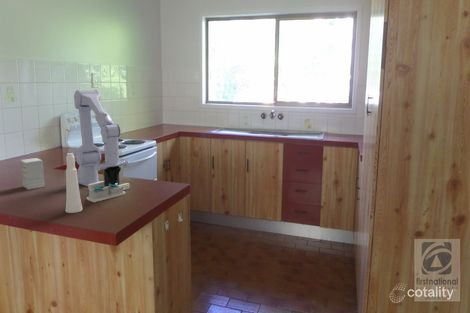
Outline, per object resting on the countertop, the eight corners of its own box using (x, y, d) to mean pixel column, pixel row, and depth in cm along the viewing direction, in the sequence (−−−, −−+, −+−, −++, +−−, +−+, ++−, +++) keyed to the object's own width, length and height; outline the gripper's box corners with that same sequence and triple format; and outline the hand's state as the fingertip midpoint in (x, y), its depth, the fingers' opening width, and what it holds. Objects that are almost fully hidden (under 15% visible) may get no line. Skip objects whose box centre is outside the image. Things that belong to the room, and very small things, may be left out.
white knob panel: (71, 193, 163) (70, 185, 162) (113, 183, 179) (113, 176, 178) (94, 202, 151) (93, 194, 151) (137, 191, 167) (136, 183, 167)
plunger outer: (92, 195, 156) (92, 187, 155) (100, 193, 158) (99, 185, 158) (97, 197, 153) (96, 188, 153) (105, 195, 156) (104, 187, 155)
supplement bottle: (121, 186, 174) (120, 161, 172) (117, 190, 168) (116, 164, 165) (106, 186, 174) (105, 161, 172) (102, 190, 167) (100, 164, 165)
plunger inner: (107, 191, 161) (107, 183, 160) (114, 190, 164) (114, 182, 163) (112, 193, 159) (111, 185, 158) (119, 191, 161) (119, 183, 161)
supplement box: (39, 183, 177) (37, 157, 175) (45, 186, 172) (42, 160, 169) (22, 186, 172) (19, 159, 170) (27, 190, 167) (24, 162, 164)
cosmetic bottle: (77, 206, 146) (73, 151, 142) (85, 210, 142) (82, 153, 138) (62, 210, 141) (57, 153, 137) (70, 214, 138) (65, 155, 133)
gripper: (101, 156, 150) (103, 189, 152) (131, 151, 161) (133, 182, 164) (91, 154, 154) (93, 186, 157) (122, 149, 165) (123, 179, 168)
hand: (113, 183), depth 160 cm, fingers closed, pressing on plunger inner
